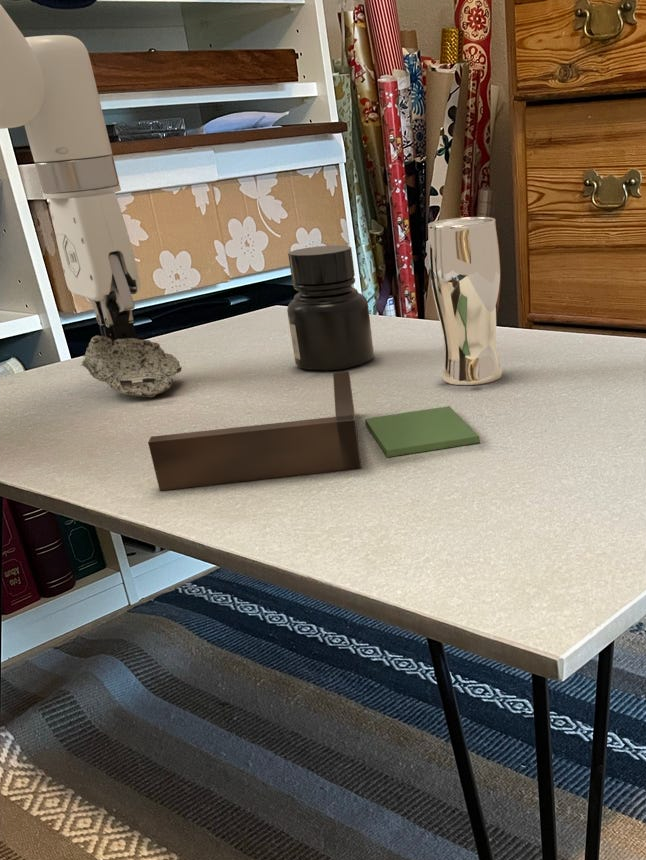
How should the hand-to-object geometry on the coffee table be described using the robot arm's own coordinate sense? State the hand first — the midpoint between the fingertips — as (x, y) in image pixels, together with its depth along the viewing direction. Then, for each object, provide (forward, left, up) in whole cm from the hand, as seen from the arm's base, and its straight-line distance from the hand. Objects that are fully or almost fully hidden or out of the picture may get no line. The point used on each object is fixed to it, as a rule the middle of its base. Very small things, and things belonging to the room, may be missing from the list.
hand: (125, 360), depth 108 cm
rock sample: (+3, -5, -3) cm, 6 cm away
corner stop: (+16, -30, -2) cm, 34 cm away
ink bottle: (+23, 0, -3) cm, 23 cm away
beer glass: (+37, -13, -3) cm, 39 cm away
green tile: (+30, -30, -3) cm, 43 cm away
